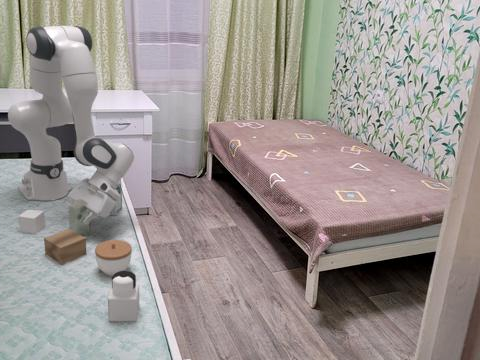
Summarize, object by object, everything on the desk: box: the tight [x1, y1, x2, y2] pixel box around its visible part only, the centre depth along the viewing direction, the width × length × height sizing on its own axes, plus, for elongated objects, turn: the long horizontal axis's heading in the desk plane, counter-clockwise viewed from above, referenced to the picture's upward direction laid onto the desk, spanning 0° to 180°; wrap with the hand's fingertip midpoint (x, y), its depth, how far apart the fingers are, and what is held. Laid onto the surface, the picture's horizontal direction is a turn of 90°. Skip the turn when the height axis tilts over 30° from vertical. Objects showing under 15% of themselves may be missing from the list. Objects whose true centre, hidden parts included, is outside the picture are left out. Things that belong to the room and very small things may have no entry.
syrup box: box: [108, 178, 123, 216], centre depth 186 cm, size 6×6×14 cm
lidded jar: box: [94, 239, 133, 277], centre depth 149 cm, size 11×11×9 cm
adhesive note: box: [17, 209, 46, 235], centre depth 171 cm, size 6×6×6 cm
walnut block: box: [43, 228, 87, 265], centre depth 156 cm, size 9×9×6 cm
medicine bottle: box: [107, 270, 140, 322], centre depth 129 cm, size 7×7×12 cm
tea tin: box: [67, 199, 90, 238], centre depth 168 cm, size 5×5×12 cm
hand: (77, 218), depth 167 cm, fingers open, 8 cm apart
